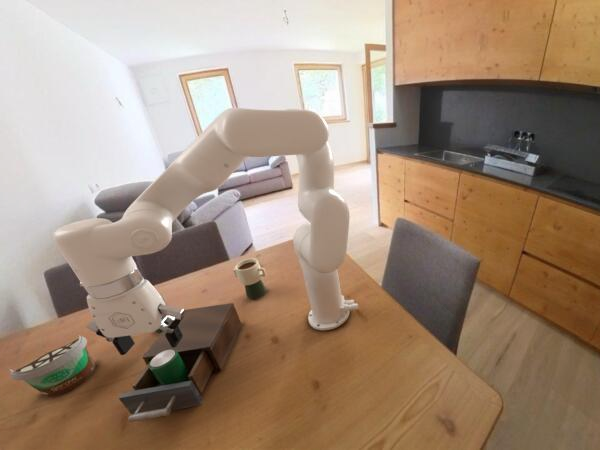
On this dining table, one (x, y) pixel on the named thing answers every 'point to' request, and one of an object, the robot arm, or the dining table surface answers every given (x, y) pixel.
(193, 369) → the drawer
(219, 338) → the cabinet
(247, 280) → the character mug
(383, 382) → the dining table surface
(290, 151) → the robot arm
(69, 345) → the food container
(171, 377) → the can
